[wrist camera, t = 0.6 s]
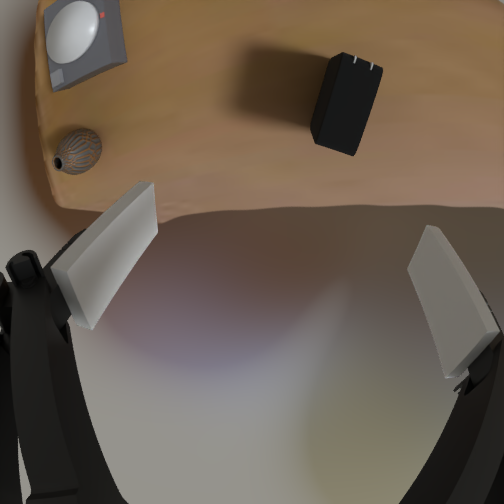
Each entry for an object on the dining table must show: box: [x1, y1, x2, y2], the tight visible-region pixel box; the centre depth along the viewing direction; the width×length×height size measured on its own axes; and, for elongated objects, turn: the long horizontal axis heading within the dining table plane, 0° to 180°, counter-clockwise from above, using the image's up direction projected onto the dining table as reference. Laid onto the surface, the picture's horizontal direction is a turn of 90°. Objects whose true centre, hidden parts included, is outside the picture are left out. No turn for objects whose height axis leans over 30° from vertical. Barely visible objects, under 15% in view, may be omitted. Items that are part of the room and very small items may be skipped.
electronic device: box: [310, 52, 383, 156], centre depth 26 cm, size 4×10×10 cm, turn 167°
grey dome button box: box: [44, 0, 127, 92], centre depth 24 cm, size 16×12×5 cm
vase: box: [52, 129, 102, 175], centre depth 34 cm, size 7×7×9 cm
